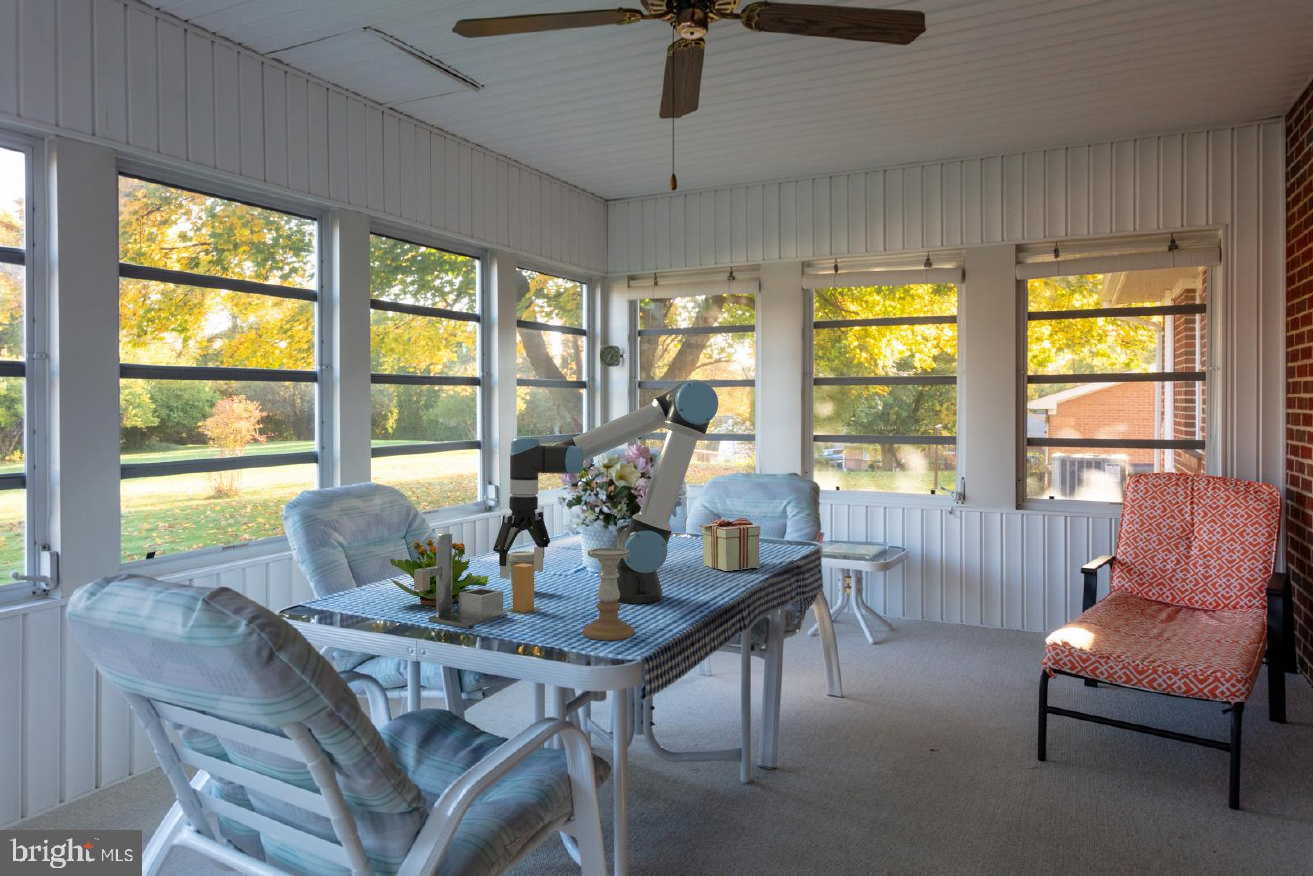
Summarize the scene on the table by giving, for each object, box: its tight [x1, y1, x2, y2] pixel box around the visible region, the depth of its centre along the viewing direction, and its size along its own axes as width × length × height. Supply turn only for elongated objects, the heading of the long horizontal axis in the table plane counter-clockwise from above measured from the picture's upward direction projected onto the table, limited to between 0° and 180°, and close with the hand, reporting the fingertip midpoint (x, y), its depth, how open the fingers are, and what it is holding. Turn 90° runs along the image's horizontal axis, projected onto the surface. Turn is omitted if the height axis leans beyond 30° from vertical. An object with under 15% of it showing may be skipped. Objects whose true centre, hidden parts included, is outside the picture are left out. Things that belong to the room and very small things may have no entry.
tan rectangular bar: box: [512, 564, 535, 612], centre depth 223 cm, size 4×4×12 cm
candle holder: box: [582, 547, 635, 641], centre depth 201 cm, size 12×12×20 cm
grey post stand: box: [413, 532, 508, 630], centre depth 212 cm, size 14×19×22 cm
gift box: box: [698, 517, 761, 572], centre depth 292 cm, size 17×18×17 cm
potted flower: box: [389, 538, 489, 607], centre depth 233 cm, size 25×24×18 cm
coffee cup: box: [509, 550, 536, 593], centre depth 246 cm, size 9×8×12 cm
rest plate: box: [503, 606, 544, 616], centre depth 223 cm, size 8×8×1 cm
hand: (522, 574), depth 222 cm, fingers open, 13 cm apart
